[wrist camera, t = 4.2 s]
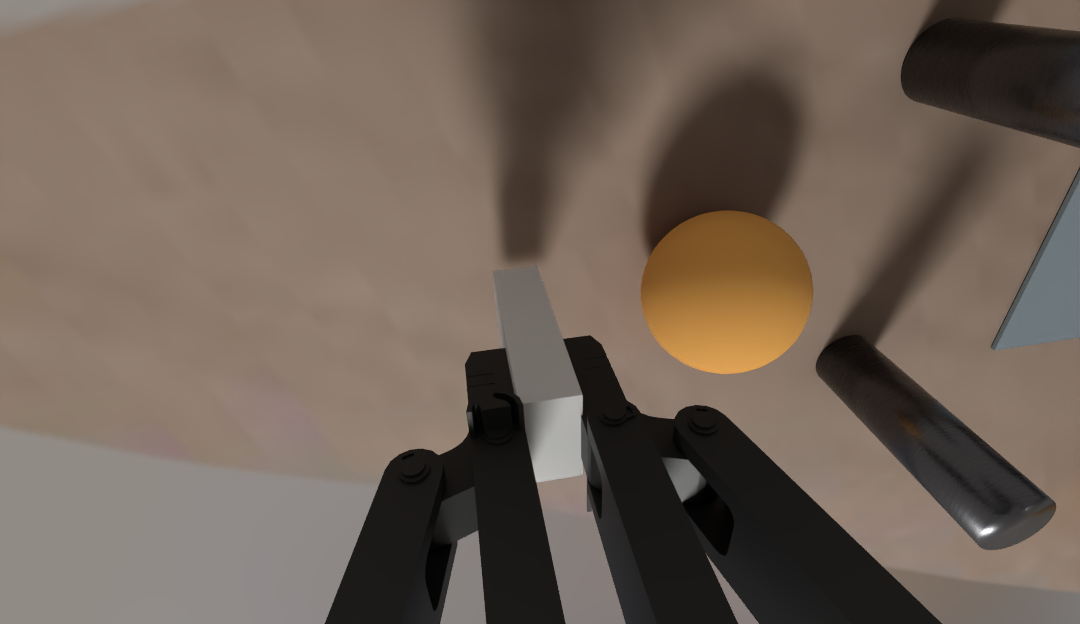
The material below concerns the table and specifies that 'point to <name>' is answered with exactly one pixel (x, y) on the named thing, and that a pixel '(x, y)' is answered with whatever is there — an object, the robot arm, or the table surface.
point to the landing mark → (1049, 285)
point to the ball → (726, 292)
